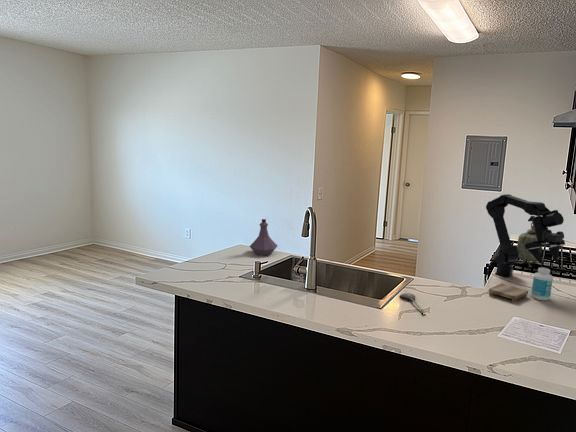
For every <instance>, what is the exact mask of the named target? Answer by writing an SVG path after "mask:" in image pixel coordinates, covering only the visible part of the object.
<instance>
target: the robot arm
mask: <svg viewBox="0 0 576 432" xmlns="http://www.w3.org/2000/svg"><path fill="white" fill-rule="evenodd" d="M509 205H511V206H514V207H516V208H519V209H522V210H523V211H524V212H525V213H526V214H528V215H529V216H530V217H529V218H528V220H527V222H531V223H533V224H532V226H533V227H534V231H535V232H534V233H533V235H535V236H536V240H537V241H533V242H528V243H525V245H524V246H525V249H529V250H528V251H530V252H531V254H532V255H533V256H534V257H535V258H536V259H537V263H539V264H540V265H541V264H543V257H542V252H541V250H543V247H548V251H549V252H550V254H551V257H552V259H553V261H554V262H555V263H557V262H558V261H559V253H560V250H561V249H562V247H564V245H566V242H565V233H564V232H563V231H557V232H555V233H554V232H552V230H551V229H549V228H552V227H557V226H560V225H563V223H564V221H565V220H564V216H563V215H562V213H560V212H559V210H558V209H554V210H550V209H549V208H548V207H547V206H546V204H545V203H544V202H541V201H539V202H538V201H528V200H526V199H523V198H520V197H516V196H513V195H512V194H510V193H509V194H508V193H507V194H502V195H500V196H498V197H496V198H494V199H491V200H490V201H488V202H487V203H486V205H485V209H486V211H487V213H488V216H490V217H491V219H493V220H492V221H493V224H494V227H495V230H496V235H497V237H498V241H499V245H500V247H499V249H498V255H497V256H496V257H495V258H494V262H495V264H497V265H496V271H495V273H494V275H496V276H501V277H504V278H509V277H511V276H513V275H514V274H513V271H514V267H513V264H516V262H517V260H518V259H519V255H518V254H519V252H518V250H517V245H513V244H512V242H511V239H510V235H509V231H508V229H507V228H508V227H507V225H506V221H505V218H504V215H505V212H506V209H505V208H506V207H507V206H509ZM542 243H543V244H542ZM541 246H542V248H540V247H541Z"/></svg>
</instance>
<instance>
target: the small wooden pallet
mask: <svg viewBox="0 0 576 432" xmlns="http://www.w3.org/2000/svg"><path fill="white" fill-rule="evenodd" d="M488 293H489V294H488V296H491V297H493V296H495V295H498V296H499V297H500V296H501V297H505V298H508V299H511V303H513V302H514V304H516V303H518V300H519V299H521V298H524V297H526V298H527V297H528V294H529V290H528V289H525V288H524V289H523V288H520V287H517V286H513V285H510V284H506V283H503V282H502V283H499V284H496V285H495V286H492V287H490V288H488Z"/></svg>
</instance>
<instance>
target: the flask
mask: <svg viewBox="0 0 576 432" xmlns="http://www.w3.org/2000/svg"><path fill="white" fill-rule="evenodd" d="M268 226H269V224H268V222H267V219H266V218H262V219H261V222H260V224H259V227H260V229H259V234H258V236H257V237H256V239H255V240H254V241H253V242H252V243H251V244H250V245H249V248H250V249H251V250H252V251H253V253H254V254H256V255H258V256H270V255H271V254H273V252H274V251H275V250H276V248H278V244H276V243H275V241H274V240H273V239H272V237H270V236H269V235H270V234H269V231H268Z"/></svg>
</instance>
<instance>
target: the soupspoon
mask: <svg viewBox="0 0 576 432" xmlns="http://www.w3.org/2000/svg"><path fill="white" fill-rule="evenodd" d="M399 297H402V298H405V299H408V300H410V301H411V302H413V303H414V304H415V305H416V307H417V308H418V309H419V310H421V311H420V312H422V313H426V312H424V310H423V309H422V308H421V306H420V305H419V304H418V303H417V302H416V301H415V300H414V299H415V298H416V297H417V296H416V295H415V294H413V293H412V292H411V293H410V292H404V293H402V294H400V295H399ZM422 313H421V314H422Z"/></svg>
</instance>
